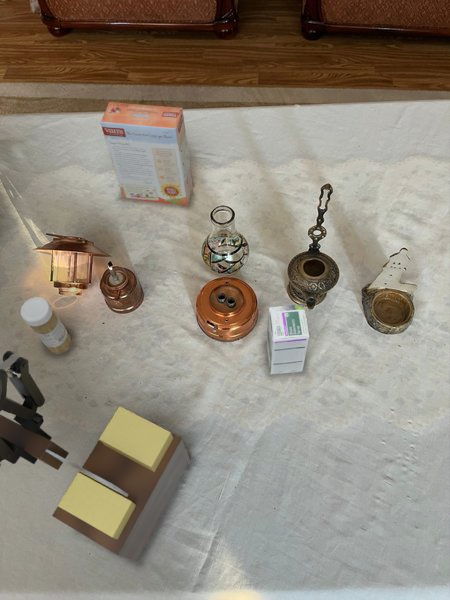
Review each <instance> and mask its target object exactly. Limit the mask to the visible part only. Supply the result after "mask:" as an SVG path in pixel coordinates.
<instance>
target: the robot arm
mask: <svg viewBox="0 0 450 600" xmlns="http://www.w3.org/2000/svg"><path fill="white" fill-rule="evenodd" d="M29 365H30V364H29V360H28V359H27V358H25V357H23V356H21V355H19V354H17V353H15V352H13V351H12V350H7V351H5V352H4V353H3V356H2V362H1V363H0V413H1V412H6V413H8V414H12V415H14V418H13V421H14V422H16V423H18V424H20V425H22V426H23V427H25V428H27V429H29V430H31V431H33V432H35V433H37V434H39V435H41V436H43V437H45V438H47V439H49V440H51V441H52V439H53V437H52V436H51V435H49V433H47V432H46V431H45V430H43V429H42V428H41V427H42V425H44V424H43V423H44V422H45V420H44V416H43V415H42V414H40V413H38V412H37V411H38V408H42V406H44V405H45V402H46V398H45V396H44V395H43V393H42V391H41V389H40V388H39V386H38V385H37V383H36V381H35V379H34V378H33V376H32V375H31V373H30V366H29ZM8 379H9V381H10V382H11V383H12V385H13V387H14V388H15V389H16V391H17V393H18V394H19V395H20V397H21V398H22V400H23V402H22V403H20V402H17V401H15V400H14V399H12V398H9V397H7V392H8ZM20 458H22V459H24V460H25V461H27V462H29V463H30V464H33V465H35V464H36V463H37V461H38V459H37V458H35V457H33V456H32V455H30V454H29V453H27V452H26V451H24V450H23V449H21V448H20V447H18V446H16V445H15V444H13V443H11V442H9V441H8V440H6V439H4V438H2V437H0V467H1V463H2V461H4V460H5V461H7V462H9V463H10V464H11V465H15V464H17V463H18V461H19V460H20Z"/></svg>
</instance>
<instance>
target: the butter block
mask: <svg viewBox="0 0 450 600" xmlns="http://www.w3.org/2000/svg"><path fill="white" fill-rule="evenodd" d="M171 433H172V432H171V431H169V430H167V429H165V428H163V427H161V426H159V425H157V424H156V423H153V422H151V421H150V420H148V419H146V418H144V417H142V416H140V415H138V414H136V413H134V412H133V411H131V410H128V409H126V408H124V407H123V406H121V405H119V406H118V408H117V409H116V411H115V413H114V414H113V415H112V417H111V419H110V420H109V422H108V424H107V425H106V427H105V429H104V430H103V431H102V433H101V434H100V437H99V438H98V441H99V440H100V441H101V442H102V443H103V444H104V445H105V446H107V447H109V448H111V449H113V450H114V451H116V452H118V453H120V454H122V455H124V456H126V457H127V458H129V459H131V460H133V461H135V462H137V463H138V464H140V465H142V466H144V467H146V468H148V469H150V470H151V471H153V472H155V471H156V469H157V467H158V465H159V464H160V462H161V460H162V458H163V456H164V455H165V453H166V451H167V449H168V447H169V446H170V444H171V442H172V440H173V436H172V434H173V433H172V434H171Z"/></svg>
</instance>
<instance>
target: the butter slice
mask: <svg viewBox="0 0 450 600" xmlns="http://www.w3.org/2000/svg"><path fill="white" fill-rule="evenodd" d="M58 506H59V507H60V508H62V509H64V510H66V511H67V512H69V513H71V514H72V515H74V516H76V517H78V518H79V519H81V520H83V521H85V522H86V523H88V524H90V525H92V526H93V527H95V528H97V529H98V530H100V531H102V532H104V533H105V534H107V535H109V536H111V537H112V538H115V539H117V540H118V538H119V536H120V534H121V533H122V531H123V529H124V527H125V525H126V523H127V522H128V520H129V518H130V516H131V514H132V512H133V511H134V509H135V507H136V505H135V504H134V503H133V502H132V501H130V500H128V499H127V498H125V497H123V496H121V495H119V494H117V493H116V492H114V491H112V490H110V489H108V488H107V487H105V486H103V485H101V484H99V483H97V482H96V481H94V480H92V479H90V478H88V477H87V476H85V475H83V474H81V473H79V471H78V472H77V473H76V475H75V477H74V479H73V480H72V482H71V483H70V485H69V487H68V488H67V490H66V491H65V493H64V495H63V496H62V498H61V500H60V501H59V503H58V504H57V507H58Z"/></svg>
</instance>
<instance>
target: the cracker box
mask: <svg viewBox="0 0 450 600" xmlns="http://www.w3.org/2000/svg"><path fill="white" fill-rule="evenodd" d="M100 126H101V130H102V132H103V136H104V139H105V142H106V146H107V150H108V152H109V153H108V154H109V156H110V159H111V162H112V165H113V169H114V173H115V175H116V179H117V182H118V186H119V189H120V191H121V194H122V198H123V199H126V200H134V201H143V202H149V203H150V202H151V203H152V202H153V203H159V204H168V205H169V204H170V205H178V206H179V205H180V206H188V205H189V203H190V199H191V195H192V193H193V188H194V184H193V183H194V182H193V175H192V168H191V161H190V153H189V147H188V145H189V144H188V139H187V137H188V136H187V132H186V131H187V130H186V125H185V115H184V109H183V107H175V106H164V105H152V104H151V105H150V104H140V103H139V104H138V103H128V102H127V103H126V102H116V101H108V103H107V105H106V108H105V111H104V113H103V116H102V118H101V120H100Z"/></svg>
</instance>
